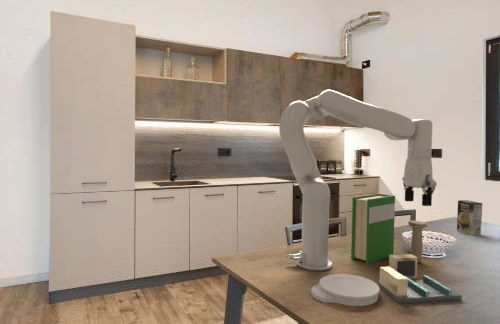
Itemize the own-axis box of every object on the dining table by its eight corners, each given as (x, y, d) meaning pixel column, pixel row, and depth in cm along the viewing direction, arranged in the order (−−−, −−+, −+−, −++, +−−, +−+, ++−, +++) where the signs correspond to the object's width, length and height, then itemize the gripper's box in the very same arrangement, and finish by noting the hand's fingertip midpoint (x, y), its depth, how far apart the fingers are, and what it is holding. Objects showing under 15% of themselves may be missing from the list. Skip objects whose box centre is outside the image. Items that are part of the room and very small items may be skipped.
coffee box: (455, 231, 182) (457, 200, 181) (465, 230, 184) (466, 199, 183) (471, 235, 173) (473, 203, 173) (481, 234, 175) (482, 202, 175)
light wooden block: (394, 279, 115) (395, 258, 114) (388, 275, 119) (389, 254, 118) (417, 278, 116) (418, 257, 115) (410, 274, 120) (411, 254, 119)
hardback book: (367, 263, 130) (369, 199, 129) (351, 258, 136) (352, 197, 134) (393, 255, 141) (395, 195, 140) (376, 250, 146) (378, 193, 145)
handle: (420, 264, 129) (421, 224, 128) (404, 260, 135) (405, 221, 134) (428, 262, 131) (429, 223, 131) (412, 258, 137) (413, 220, 136)
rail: (399, 303, 97) (399, 280, 97) (377, 286, 109) (378, 265, 108) (461, 300, 99) (462, 277, 99) (434, 283, 111) (434, 263, 111)
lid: (301, 286, 109) (301, 276, 109) (359, 281, 114) (359, 272, 114) (325, 311, 93) (325, 300, 92) (392, 304, 97) (392, 294, 97)
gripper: (395, 154, 131) (393, 199, 131) (425, 155, 114) (423, 207, 114) (413, 154, 132) (412, 199, 133) (446, 155, 115) (444, 207, 116)
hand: (417, 203), depth 124 cm, fingers open, 9 cm apart
